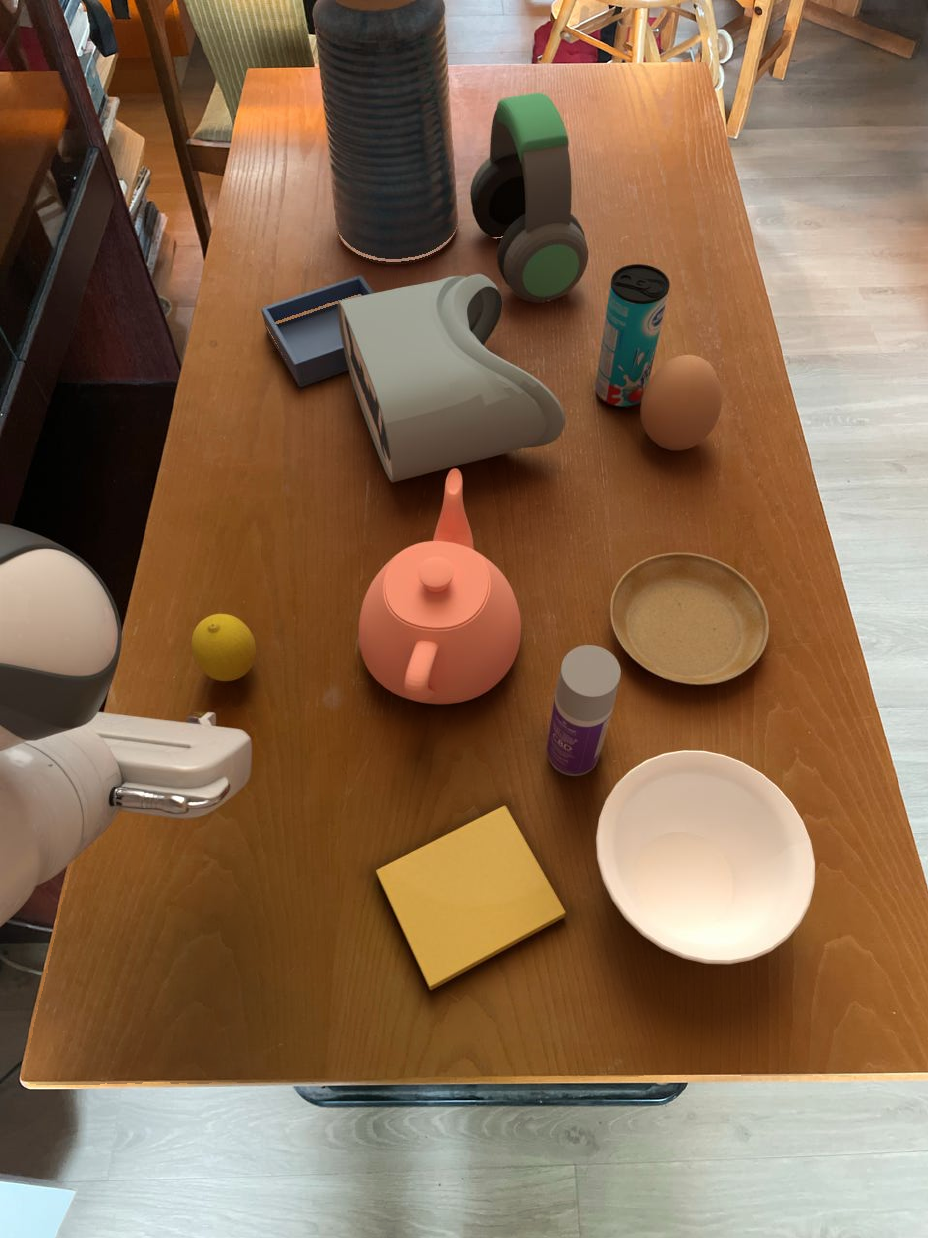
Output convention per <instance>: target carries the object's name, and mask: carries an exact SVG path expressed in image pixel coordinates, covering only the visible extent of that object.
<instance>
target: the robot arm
mask: <svg viewBox="0 0 928 1238" xmlns="http://www.w3.org/2000/svg"><path fill="white" fill-rule="evenodd" d="M122 643H123V631H122V623H121V618H120V614H119V611H118V608H117V604H116V603H115V599H114V598H113V596H112V594H111V592H110V590H109V588H108V587H107V585H106V583H105V582H104V581H103V579H102V578H101V577H100V575H99V574H98V573H97V571H95V570H94V568H93V567H92V566H91V565H90V564H88V562H87V561H85V559H83V558H82V557H80V555H77V554H76V553H75V552H73V551H71V550H70V549H68V548H67V547H64V546H63V545H61V544H59V543H58V542H55V541H54V540H52V539H49V538H47V537H45V536H42V535H40V534H38V533H35V532H32V531H30V530H27V529H24V528H20V527H17V526H13V525H10V524H7V523H6V524H5V523H0V928H1V927H2V926H3V925H5V923H7V922H8V921H9V920H10V919H11V918H12V917H13V916H15V915H16V914H17V913H18V912H19V911H20V910H21V909H22V908H23V907H24V905H25V904H26V903H27V901H28V900H29V899H30V898H31V896H32V894H33V893H34V891H35V889H36V887H38V886H39V885H42V884H44V883H46V882H48V881H49V880H51V879H53V878H55V877H56V876H57V875H59V874H60V873H61V872H62V871H64V870H65V869H66V868H67V866H69V865H70V864H71V863H72V862H73V861H74V860H76V859H77V858H78V857H79V856H80V855H81V854H82V853H84V851H85V850H86V849H88V848H89V847H90V846H91V845H92V844H93V843H94V842H96V840H97V839H98V838H99V837H101V836H102V835H103V834H104V833H105V832H106V831H107V830H108V829H109V828H110V827H111V825H112V824H113V822H114V821H115V819H116V818H117V815H118V813H119V812H124V813H125V812H126V813H132V814H140V815H148V816H156V817H163V818H172V819H195V818H200V817H202V816H205V815H208V814H210V813H212V812H214V811H215V810H217V809H219V808H220V807H221V806H222V805H224V804H226V802H228V801H229V800H230V799H232V798H233V797H234V796H235V795H237V794H238V793H239V792H240V791H241V790H242V789H243V788H244V787H245V786H246V785H247V784H248V783H249V781H250V779H251V774H252V766H253V765H252V764H253V743H252V738H251V737H250V736H249V734H248V732H246V731H245V730H243V729H241V728H235V727H226V726H218V725H217V714H216V712H211V711H203V710H194V711H193V713H191V714H189V715H188V716H187V722H185V721H177V720H167V719H161V718H152V717H143V716H135V715H127V714H119V713H112V712H105V711H104V712H103V711H100V709H101V707H102V705H103V703H104V701H105V699H106V697H107V695H108V693H109V691H110V689H111V686H112V683H113V681H114V678H115V675H116V672H117V668H118V664H119V660H120V656H121V651H122Z"/></svg>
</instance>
